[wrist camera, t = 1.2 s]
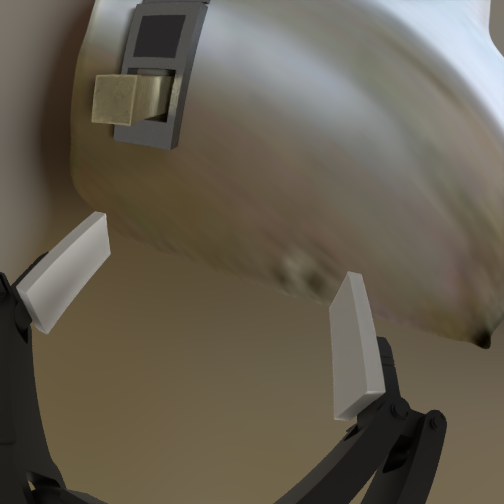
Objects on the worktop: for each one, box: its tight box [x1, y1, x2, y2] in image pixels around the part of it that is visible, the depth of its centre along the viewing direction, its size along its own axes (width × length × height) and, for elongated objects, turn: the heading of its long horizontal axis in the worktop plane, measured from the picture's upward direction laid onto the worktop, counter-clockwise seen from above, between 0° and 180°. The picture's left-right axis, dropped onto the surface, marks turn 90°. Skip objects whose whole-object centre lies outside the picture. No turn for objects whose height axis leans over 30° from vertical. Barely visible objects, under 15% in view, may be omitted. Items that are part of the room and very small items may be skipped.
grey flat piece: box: [114, 2, 208, 150], centre depth 27 cm, size 20×9×3 cm, turn 167°
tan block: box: [92, 75, 175, 126], centre depth 26 cm, size 5×5×10 cm
